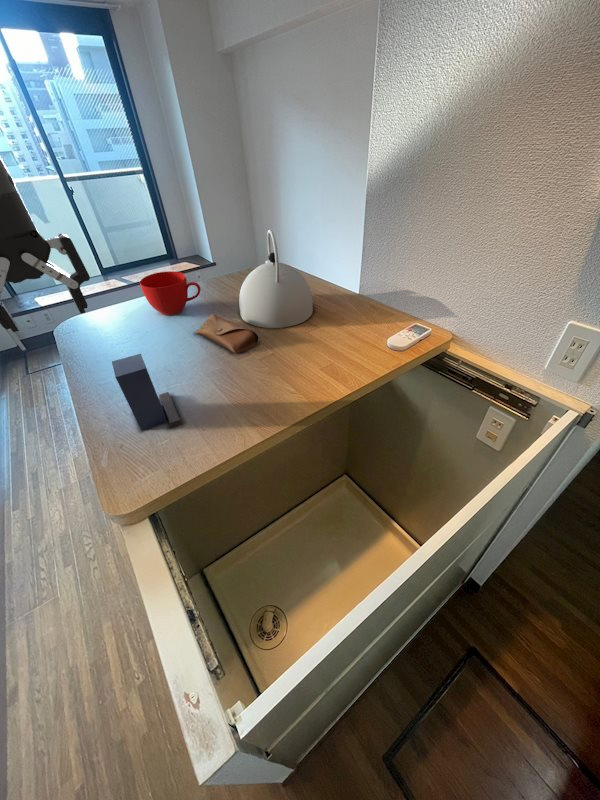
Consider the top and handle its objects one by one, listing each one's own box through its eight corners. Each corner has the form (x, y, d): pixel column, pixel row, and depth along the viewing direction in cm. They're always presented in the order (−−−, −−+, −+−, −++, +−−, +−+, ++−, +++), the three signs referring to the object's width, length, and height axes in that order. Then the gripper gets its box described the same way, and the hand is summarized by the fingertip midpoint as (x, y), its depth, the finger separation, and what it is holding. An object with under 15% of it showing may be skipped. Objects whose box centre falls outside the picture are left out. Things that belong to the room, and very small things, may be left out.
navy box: (141, 430, 63) (115, 377, 55) (136, 413, 67) (111, 361, 58) (167, 421, 65) (146, 368, 57) (161, 405, 69) (140, 353, 60)
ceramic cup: (200, 320, 98) (192, 287, 91) (144, 320, 98) (132, 288, 91) (209, 301, 107) (202, 270, 101) (158, 302, 108) (148, 271, 101)
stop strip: (171, 427, 64) (169, 423, 63) (160, 398, 70) (158, 394, 70) (181, 423, 65) (180, 419, 64) (169, 395, 71) (168, 391, 70)
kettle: (237, 296, 110) (227, 222, 96) (303, 290, 114) (302, 217, 99) (242, 331, 92) (230, 247, 77) (320, 323, 95) (323, 240, 80)
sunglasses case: (192, 332, 91) (197, 309, 89) (211, 335, 97) (216, 313, 95) (236, 354, 82) (243, 329, 80) (254, 356, 88) (261, 332, 86)
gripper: (43, 179, 42) (95, 298, 53) (-106, 193, 36) (-11, 326, 46) (53, 186, 38) (108, 315, 49) (-115, 203, 31) (-8, 347, 42)
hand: (50, 320), depth 48 cm, fingers open, 8 cm apart
